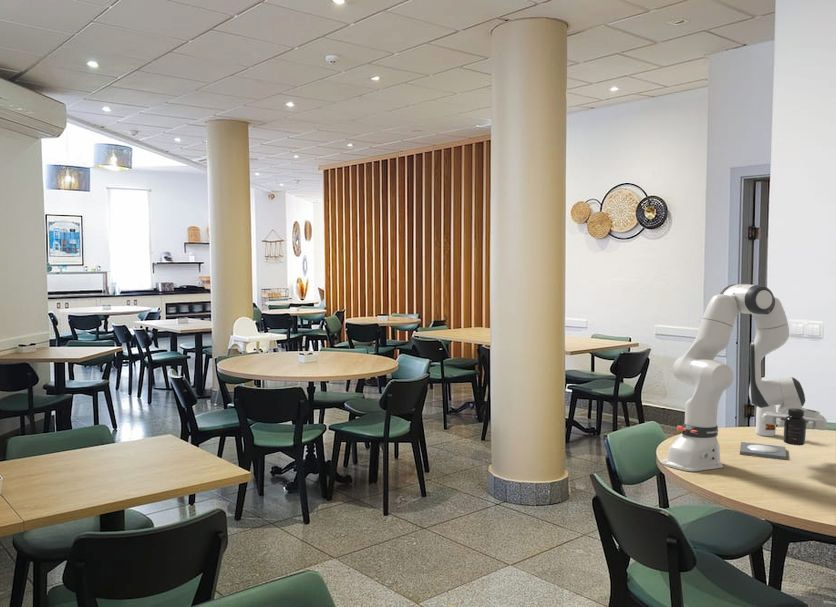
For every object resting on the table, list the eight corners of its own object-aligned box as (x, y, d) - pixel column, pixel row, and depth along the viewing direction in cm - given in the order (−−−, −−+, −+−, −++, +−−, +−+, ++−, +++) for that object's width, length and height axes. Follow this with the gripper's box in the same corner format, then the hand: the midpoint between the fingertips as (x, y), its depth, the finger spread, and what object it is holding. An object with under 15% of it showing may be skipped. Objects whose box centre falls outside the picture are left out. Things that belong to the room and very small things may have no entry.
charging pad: (786, 459, 263) (786, 456, 262) (739, 454, 270) (739, 450, 270) (785, 449, 277) (785, 446, 277) (740, 444, 284) (741, 441, 284)
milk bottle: (757, 436, 299) (759, 390, 298) (753, 432, 306) (755, 387, 305) (777, 437, 297) (779, 391, 296) (772, 433, 304) (774, 388, 303)
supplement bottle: (783, 439, 250) (786, 406, 249) (805, 442, 246) (807, 409, 245) (782, 443, 244) (784, 410, 243) (804, 447, 240) (807, 412, 239)
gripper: (761, 405, 261) (762, 412, 248) (824, 412, 252) (828, 419, 239) (760, 422, 261) (761, 430, 248) (823, 429, 252) (827, 437, 240)
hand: (795, 424), depth 244 cm, fingers closed on supplement bottle, 7 cm apart
